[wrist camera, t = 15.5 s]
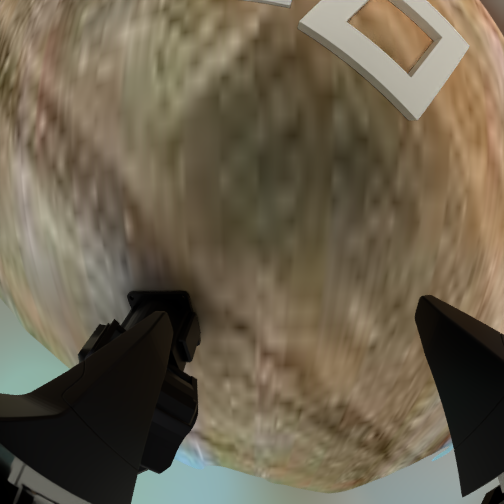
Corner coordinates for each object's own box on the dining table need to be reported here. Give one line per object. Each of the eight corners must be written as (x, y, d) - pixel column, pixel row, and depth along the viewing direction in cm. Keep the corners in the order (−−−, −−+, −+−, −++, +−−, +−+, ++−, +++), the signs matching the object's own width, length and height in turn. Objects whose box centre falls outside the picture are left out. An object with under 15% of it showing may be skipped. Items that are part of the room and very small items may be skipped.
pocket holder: (408, 120, 17) (417, 120, 15) (297, 28, 14) (299, 21, 13) (460, 48, 12) (469, 46, 11) (367, -34, 10) (372, -41, 9)
